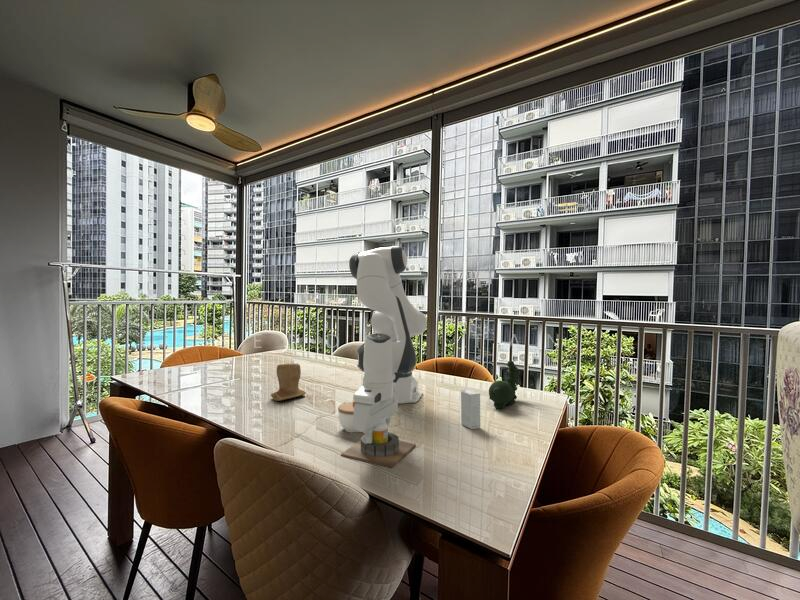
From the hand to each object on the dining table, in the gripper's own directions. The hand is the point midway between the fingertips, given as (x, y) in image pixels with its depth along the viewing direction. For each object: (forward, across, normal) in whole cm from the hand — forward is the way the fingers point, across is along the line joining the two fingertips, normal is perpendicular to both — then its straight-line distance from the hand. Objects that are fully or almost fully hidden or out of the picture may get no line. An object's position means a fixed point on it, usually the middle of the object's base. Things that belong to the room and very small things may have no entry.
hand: (377, 437), depth 109 cm
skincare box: (+4, -33, +19) cm, 38 cm away
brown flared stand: (+4, -29, -61) cm, 68 cm away
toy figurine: (+5, -65, +25) cm, 70 cm away
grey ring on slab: (+4, 0, +1) cm, 4 cm away
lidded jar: (+4, -11, -15) cm, 19 cm away
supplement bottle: (+4, +1, +1) cm, 4 cm away
